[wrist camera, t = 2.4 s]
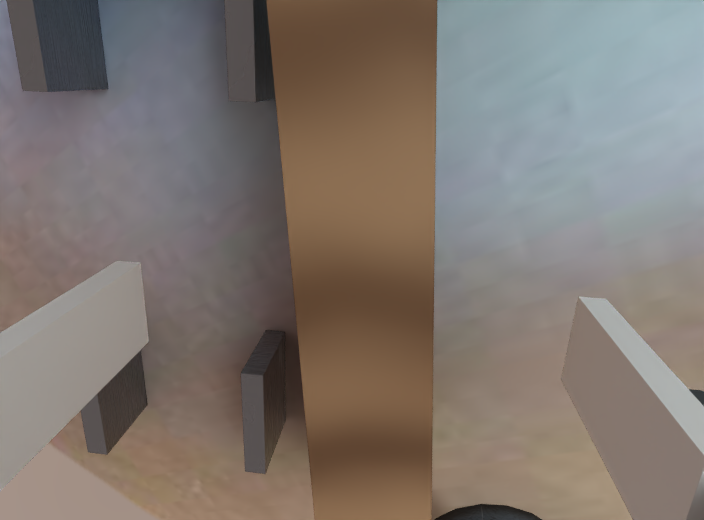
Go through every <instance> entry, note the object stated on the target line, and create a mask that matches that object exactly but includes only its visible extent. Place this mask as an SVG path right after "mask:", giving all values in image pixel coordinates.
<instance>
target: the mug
mask: <svg viewBox="0 0 704 520" xmlns="http://www.w3.org/2000/svg"><path fill="white" fill-rule="evenodd" d="M435 520H542V519H540V518H539V517H537V516H535V515H534V514H532V513H529V512H526V511H523V510H520V509H516V508H513V507H510V506H505V505H487V504H479V505H474V506H468V507H463V508H457V509H455V510H452V511H450V512H448V513H446V514H444V515H442V516H440V517H438V518H436V519H435Z"/></svg>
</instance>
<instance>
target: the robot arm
mask: <svg viewBox="0 0 704 520" xmlns="http://www.w3.org/2000/svg"><path fill="white" fill-rule="evenodd" d="M148 342H149V337H148V328H147V318H146V309H145V299H144V290H143V281H142V271H141V263H139V262H127V261H116V262H114V263H112V264H111V265H109V266H108V267H106V268H104V269H103V270H101V271H99V272H98V273H96V274H95V275H93V276H91V277H90V278H88V279H87V280H85V281H83V282H82V283H80V284H78V285H77V286H75V287H74V288H72V289H70V290H69V291H67V292H65V293H64V294H62V295H61V296H59V297H57V298H56V299H54V300H52V301H51V302H49V303H48V304H46V305H44V306H43V307H41V308H40V309H38V310H36V311H35V312H33V313H31V314H30V315H28V316H27V317H25V318H23V319H22V320H20V321H18V322H17V323H15V324H14V325H12V326H10V327H9V328H7V329H5V330H4V331H2V332H0V491H1V490H2V489H3V488H4V487H5V486H6V485H7V484H8V483H9V482H10V481H11V480H12V479H13V478H14V477H15V476H16V475H17V474H18V473H19V472H20V471H21V470H22V469H23V468H24V467H25V466H26V465H27V464H28V463H29V462H30V461H31V460H32V459H33V458H34V457H35V456H36V455H37V454H38V452H40V451H41V449H42V448H43V447H45V446H46V445H47V444H48V443H49V442H50V441H51V440H52V439H53V438H54V437H55V436H56V435H57V434H58V433H59V432H60V431H61V430H62V429H63V428H64V427H65V426H66V425H67V424H68V422H69V421H70V420H71V419H72V418H73V417H74V416H75V415H76V414H77V413H78V412H79V411H80V410H81V409H82V408H83V407H84V406H85V405H86V404H87V403H88V402H89V401H90V400H91V399H92V398H93V397H94V396H95V395H96V394H97V393H98V392H99V391H100V390H101V389H102V388H103V387H104V386H105V385H106V384H107V383H108V382H109V381H110V380H111V379H112V378H113V377H114V376H115V375H116V374H117V373H118V372H119V371H120V370H121V369H122V368H123V367H124V366H125V365H126V364H127V363H128V362H129V361H130V360H131V359H132V358H133V357H134V356H135V355H136V354H137V353H138V352H139V351H140V350H141V349H142V348H143V347H144V346H145V345H146V344H147V343H148ZM561 380H562V382H563V384H564V386H565V388H566V390H567V392H568V394H569V396H570V398H571V400H572V402H573V404H574V406H575V407H576V409H577V411H578V413H579V415H580V417H581V419H582V421H583V423H584V425H585V427H586V429H587V431H588V433H589V435H590V437H591V439H592V441H593V443H594V444H595V446H596V448H597V450H598V452H599V454H600V456H601V458H602V460H603V462H604V464H605V466H606V468H607V470H608V472H609V474H610V476H611V478H612V480H613V481H614V483H615V485H616V487H617V489H618V491H619V493H620V495H621V497H622V499H623V501H624V503H625V505H626V507H627V509H628V511H629V513H630V515H631V517H632V518H633V520H704V392H703V391H701V390H690V389H688V388H687V387H686V386H685V385H684V384H683V383H682V382H681V381H680V379H679V378H678V377H677V376H676V375H675V374H674V373H673V372H672V371H671V370H670V369H669V367H668V366H667V365H666V364H665V363H664V362H663V361H662V360H661V359H660V358H659V356H658V355H657V354H656V353H655V352H654V351H653V350H652V349H651V348H650V347H649V345H648V344H647V343H646V342H645V341H644V340H643V339H642V338H641V337H640V336H639V334H638V333H637V332H636V331H635V330H634V329H633V328H632V327H631V326H630V325H629V323H628V322H627V321H626V320H625V319H624V318H623V317H622V316H621V315H620V314H619V312H618V311H617V310H616V309H615V308H614V307H613V306H612V305H611V304H610V303H609V302H608V300H607V299H602V298H589V297H578V301H577V306H576V310H575V315H574V320H573V325H572V329H571V334H570V339H569V344H568V348H567V353H566V358H565V362H564V367H563V372H562V377H561Z"/></svg>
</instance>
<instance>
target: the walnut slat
mask: <svg viewBox="0 0 704 520" xmlns="http://www.w3.org/2000/svg"><path fill="white" fill-rule="evenodd" d="M266 1H267V12H268V23H269V33H270V44H271V55H272V66H273V76H274V87H275V98H276V108H277V119H278V130H279V141H280V151H281V162H282V173H283V184H284V194H285V205H286V216H287V227H288V237H289V248H290V259H291V270H292V280H293V291H294V302H295V313H296V323H297V334H298V345H299V356H300V366H301V377H302V388H303V399H304V409H305V420H306V431H307V442H308V452H309V463H310V474H311V485H312V495H313V506H314V517H315V520H431V508H432V419H433V329H434V240H435V150H436V61H437V0H266Z"/></svg>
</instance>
